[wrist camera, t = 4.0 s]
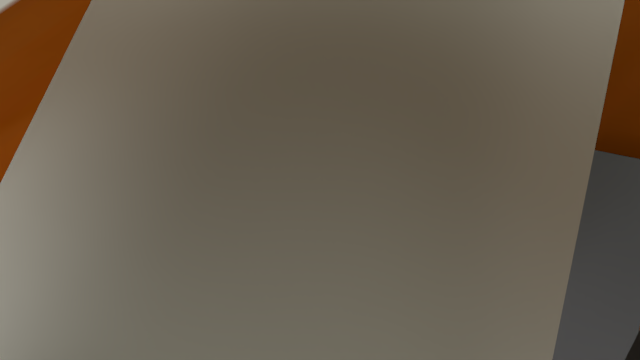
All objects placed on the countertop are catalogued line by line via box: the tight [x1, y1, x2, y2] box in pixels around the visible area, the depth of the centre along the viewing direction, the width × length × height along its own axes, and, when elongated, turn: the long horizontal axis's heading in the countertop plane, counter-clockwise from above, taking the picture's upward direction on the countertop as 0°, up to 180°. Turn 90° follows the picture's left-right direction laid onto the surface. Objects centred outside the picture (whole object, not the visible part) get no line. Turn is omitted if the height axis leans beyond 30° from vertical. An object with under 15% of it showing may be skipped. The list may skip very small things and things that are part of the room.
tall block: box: [0, 0, 625, 360], centre depth 10 cm, size 5×5×12 cm
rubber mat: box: [552, 150, 640, 360], centre depth 16 cm, size 13×13×1 cm
